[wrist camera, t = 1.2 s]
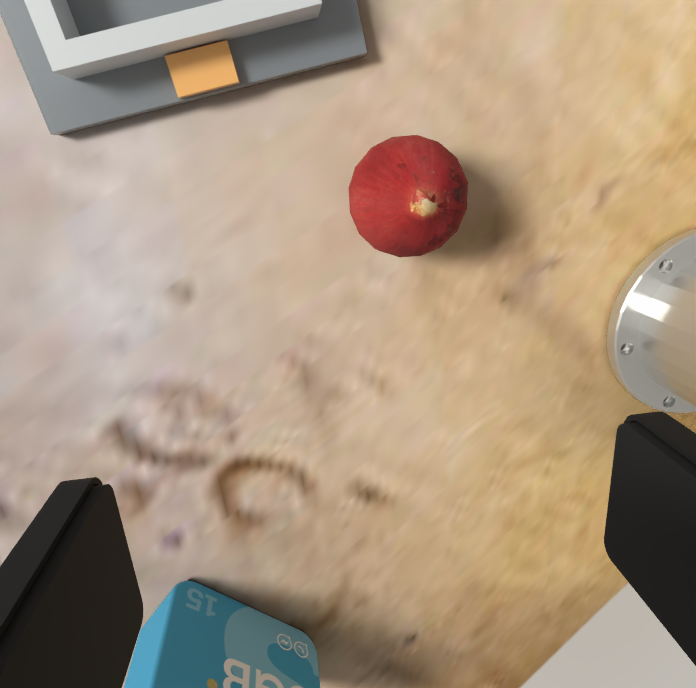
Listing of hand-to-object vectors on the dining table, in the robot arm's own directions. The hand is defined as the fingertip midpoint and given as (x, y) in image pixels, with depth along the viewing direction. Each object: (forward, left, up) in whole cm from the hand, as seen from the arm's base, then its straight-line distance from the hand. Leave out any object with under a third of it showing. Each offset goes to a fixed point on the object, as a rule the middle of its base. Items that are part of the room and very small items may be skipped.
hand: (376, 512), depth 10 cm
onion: (-6, -3, -22) cm, 23 cm away
